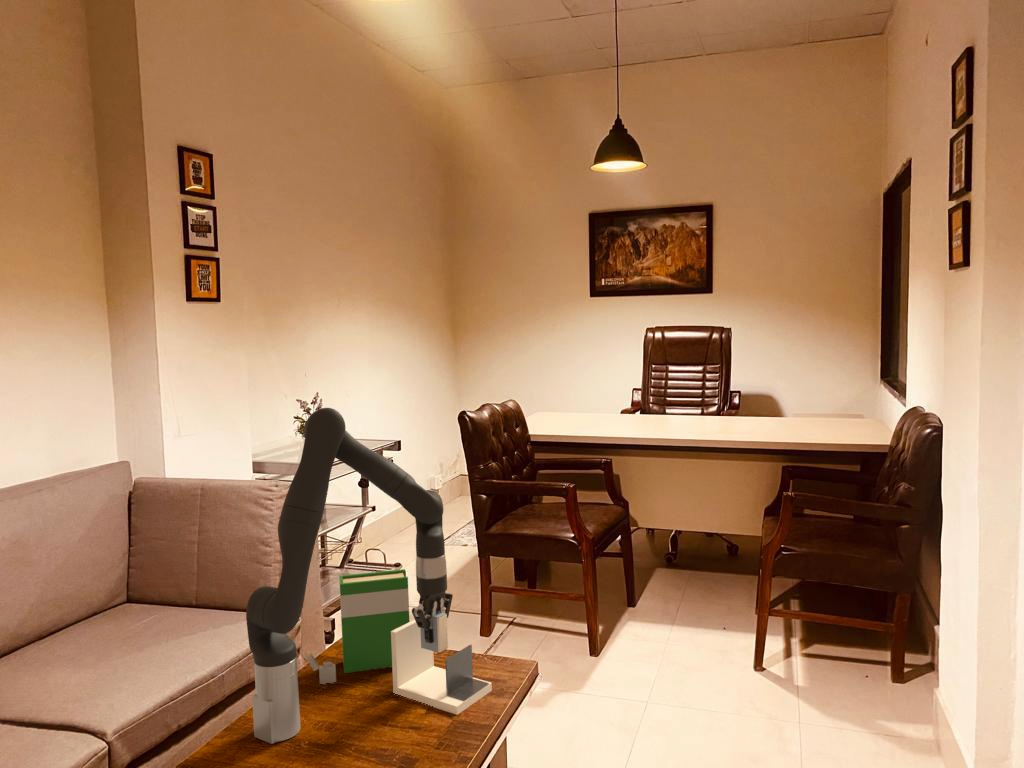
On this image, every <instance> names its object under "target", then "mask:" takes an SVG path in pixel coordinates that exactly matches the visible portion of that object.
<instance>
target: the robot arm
mask: <svg viewBox="0 0 1024 768" xmlns="http://www.w3.org/2000/svg"><path fill="white" fill-rule="evenodd" d="M303 436H304V442H303V443H304V444H303V449H302V454H301V459H300V462H299V465H298V467H297V470H296V472H295V474H294V476H293V479H292V481H291V483H290V486H289V488H288V489H287V490H288V491H287V492H286V496H285V499H284V501H283V506H282V508H281V512H280V516H279V520H278V524H277V536H278V542H279V548H280V555H281V559H282V562H281V563H282V566H281V572H280V578H279V582H278V585H277V587H275V586H271V585H270V586H269V585H262V586H260V587H258V588H256V589H255V590H254V591H253V592H252V593H251V595H250V596H249V599H248V601H247V605H246V611H245V615H246V617H245V618H246V619H245V620H246V628H247V637H248V646H249V650H250V652H251V654H252V656H253V663H254V664H253V665H254V682H255V685H254V686H255V694H254V695H252V697H251V701H252V702H251V703H252V716H253V717H252V719H253V736H254V737H255V738H257V739H259V740H261V741H264V742H266V743H268V744H271V745H274V744H275V743H279V742H282V741H287V740H288V739H291V738H293V737H294V736H297V734H298V733H299V732H300V731H301V714H300V711H301V710H300V694H299V679H298V677H299V675H298V657H297V656H298V655H297V646H296V645H297V644H296V643H295V641H294V640H293V639H292V638H291V637H289V636H288V633H290V632H291V631H292V630H293V629H294V628H295V627H296V626H297V624H298V622H299V621H300V617H301V615H302V611H303V608H304V602H305V595H306V589H307V585H308V578H309V571H310V566H311V563H312V558H313V554H314V548H315V545H316V540H317V537H318V534H319V531H320V527H321V522H322V519H323V516H324V512H325V507H326V506H325V505H326V502H327V498H328V491H329V484H330V479H331V472H332V468H333V466H334V462H335V460H336V459H337V460H338V461H340V462H341V463H343V464H345V465H346V466H348V467H350V468H351V469H352V470H354V471H355V472H356V473H358V474H360V475H361V476H362V477H363V478H365V479H366V480H367V481H369V482H370V483H371V484H372V485H374V486H375V487H377V488H378V489H379V490H381V492H383V493H384V494H386V495H387V496H389V497H390V498H392V500H395V501H396V502H397V503H398V504H399V505H401V507H402V508H403V509H405V511H407V512H408V514H410V515H411V516H412V517H413V518H414V519H415V528H416V529H415V530H416V532H415V534H416V535H415V553H416V558H415V559H416V560H415V577H416V592H417V593H418V594H419V601H418V605H417V606H416V607H413V608H412V609H411V613H412V616H413V618H414V620H415V621H416V623H417V626H418V627H419V628H423V629H424V636H425V641H426V642H427V643H433V642H434V635H433V619H435V615H436V612H440V613H446V614H447V619H448V618H449V615H450V611H451V607H452V602H453V598H454V597H453V596H454V595H453V593H450V592H446V591H447V590H448V572H447V559H446V548H445V545H446V544H445V536H444V531H443V515H444V504H443V499H442V497H441V496H440V494H439V493H438V492H436V491H435V490H432V489H425V488H423V486H421V485H420V484H419V483H417V482H416V479H415V478H414V476H412V475H411V474H409V473H408V472H407V471H405V470H404V469H403V468H401V467H400V466H399V465H397V464H396V463H394V462H393V461H392V460H390V459H388V458H386V457H385V456H383V455H381V454H379V453H378V452H376V451H374V450H372V449H371V448H369V447H367V446H366V445H365V444H363V443H361V442H359V441H358V440H357V438H355V437H354V436H352V435H351V434H350V433H349V432H348V431H347V430H346V423H345V420H344V418H343V415H342V414H341V413H340V412H339V411H338V410H336V409H334V408H332V407H322V408H319V409H317V410H314V412H312V413H311V414H310V415H309V417H308V418H307V420H305V423H304V425H303ZM427 614H431V616H430V615H427ZM427 619H429V623H427Z"/></svg>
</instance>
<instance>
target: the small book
mask: <svg viewBox="0 0 1024 768" xmlns="http://www.w3.org/2000/svg"><path fill="white" fill-rule="evenodd" d="M427 615H430V616H431V614H427ZM427 623H429V619H427ZM420 632H421V648H424V649H427V650H431V651H433V653H434V652H435V653H439V654H441V653H443V652H444V651H446V650H447V649H448V648H449V643H448V642H449V638H448V635H449V634H448V618H447V614H446V613H440V612H436V615H435V619H433V635H434V642H433V643H427V642H426V641H425V636H424V629H423V628H420Z"/></svg>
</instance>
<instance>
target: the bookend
mask: <svg viewBox="0 0 1024 768" xmlns="http://www.w3.org/2000/svg"><path fill="white" fill-rule="evenodd" d="M444 663H445V669H446V693H447V696H450V697H453V698H456V699H459V700H462V701H465V700H467V699H468V698H470V697H471V696H473V695H474V694H476V693H477V692H479V691H480V690H482V689H483V688H484V687H486V686H487V685H489V683H487V682H488V681H487V682H483V681H480V680H481V679H480V680H476V679H473V678H474V677H473V675H474V674H473V673H474V672H473V646H472V644H469V645H468V646H465V647H464V648H462V649H460V650H459V651H457V652H456V653H454V654H452V655H450V656H449V657H447V658H445V661H444Z"/></svg>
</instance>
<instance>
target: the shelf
mask: <svg viewBox="0 0 1024 768" xmlns="http://www.w3.org/2000/svg"><path fill="white" fill-rule="evenodd" d="M391 646H392V667H391V668H392V689H393V690H392V693H395V694H398V695H401V696H404V697H407V698H410V699H413V700H416V701H419V702H422V703H421V704H423V703H425V704H424V705H426V704H428V705H427V706H429V705H430V706H429V707H432V706H433V708H435V709H438V710H441V711H444V712H447V713H450V714H454V715H457V716H458V715H459V714H460V713H462V712H464V711H466V709H468V708H469V707H471V706H473V704H475V703H477V702H478V701H479V700H481V699H482V698H484V697H485V696H486V695H488V694H490V693H491V692H492V691H493V683H492V682H491V681H487V680H483V679H480V678H477V677H473V679H476V680H480V681H483V682H487V683H489V685H487V686H486V687H484V688H483V689H482V690H480V691H479V692H477V693H476V694H474V695H473V696H471V697H470V698H468V699H467V700H465V701H462V700H459V699H456V698H453V697H450V696H447V693H446V668H442V667H438V666H435V664H434V663H435V659H434V657H435V656H434V651H431V650H427V649H424V648H421V632H420V628H419V627H418V626H417V623H416V621H415V619H413V620H410V622H409V623H407V624H405V625H403V626H401V627H399V628H397V629H395V630H393V631H391ZM395 694H394V695H395ZM398 695H397V696H398ZM401 696H400V697H401ZM404 697H403V698H404ZM407 698H406V699H407ZM410 699H409V700H410ZM413 700H412V701H413ZM416 701H415V702H416ZM419 702H418V703H419Z"/></svg>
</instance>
